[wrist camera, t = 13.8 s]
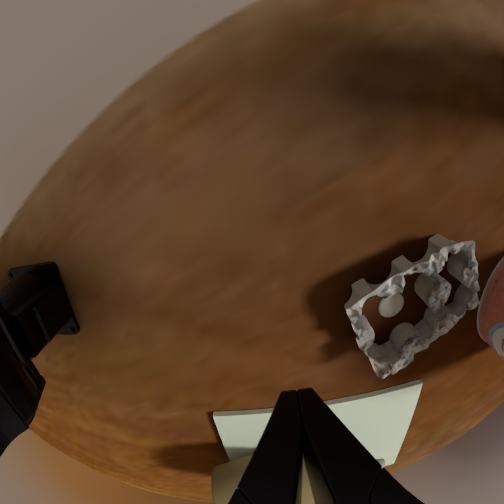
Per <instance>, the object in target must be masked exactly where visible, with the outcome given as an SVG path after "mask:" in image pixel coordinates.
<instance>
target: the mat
mask: <svg viewBox="0 0 504 504" xmlns="http://www.w3.org/2000/svg"><path fill="white" fill-rule="evenodd" d="M422 384H423V382H422V380H421V379H419V380H415V381H412V382H408V383H405V384H401V385H397V386H393V387H389V388H385V389H381V390H377V391H373V392H368V393H364V394H359V395H354V396H349V397H344V398H339V399H333V400H327V401H324V402H325V403H326V405H327V406H328V407H329V408H330V409H331V410H332V411H333V412H334V414H335V415H336V416H337V417H338V418H339V419H340V420H341V421H342V423H343V424H344V425H345V426H346V427H347V428H348V429H349V430H350V431H351V433H352V434H353V435H354V436H355V437H356V438H357V439H358V440H359V441H360V443H361V444H362V445H363V446H364V447H365V448H366V449H367V450H368V451H369V452H370V453H371V454H372V456H373V457H374V458H375V459H381V458H383V459H384V460H385V466H387V465H390V464H394V462H395V459H396V457H397V455H398V452H399V450H400V448H401V445H402V443H403V440H404V438H405V435H406V432H407V430H408V427H409V424H410V422H411V419H412V416H413V413H414V410H415V407H416V404H417V401H418V398H419V394H420V391H421V388H422ZM273 409H274V408H266V409H254V410H240V411H219V412H213V418H214V421H215V424H216V427H217V429H218V432H219V435H220V437H221V440H222V443H223V445H224V448H225V450H226V453H227V455H228V458H229V460H230V461H232V460H235V459H238V458H240V457H243V456H246V455H253V453H254V451H255V449H256V447H257V445H258V443H259V441H260V438H261V436H262V434H263V432H264V430H265V427H266V425H267V423H268V421H269V418H270V416H271V414H272V412H273Z"/></svg>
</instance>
